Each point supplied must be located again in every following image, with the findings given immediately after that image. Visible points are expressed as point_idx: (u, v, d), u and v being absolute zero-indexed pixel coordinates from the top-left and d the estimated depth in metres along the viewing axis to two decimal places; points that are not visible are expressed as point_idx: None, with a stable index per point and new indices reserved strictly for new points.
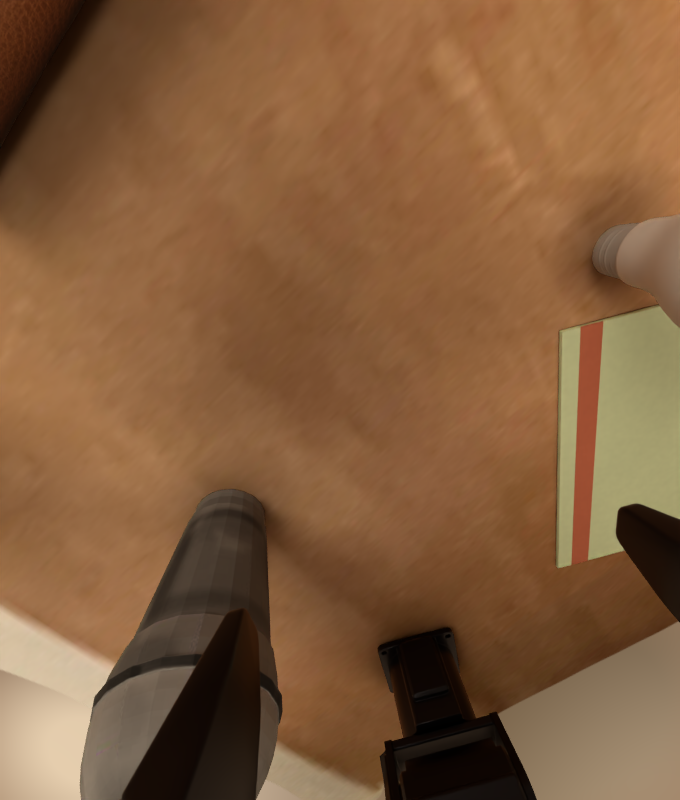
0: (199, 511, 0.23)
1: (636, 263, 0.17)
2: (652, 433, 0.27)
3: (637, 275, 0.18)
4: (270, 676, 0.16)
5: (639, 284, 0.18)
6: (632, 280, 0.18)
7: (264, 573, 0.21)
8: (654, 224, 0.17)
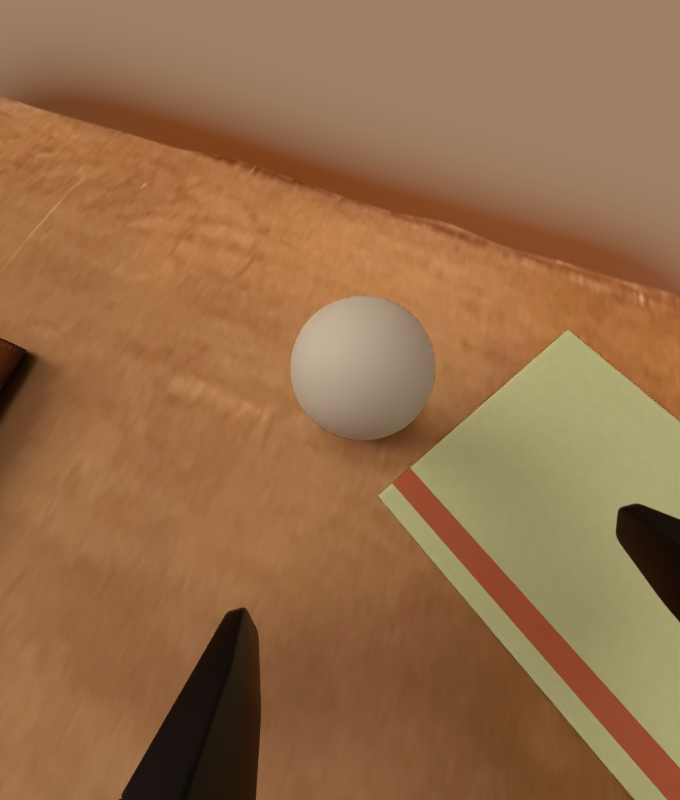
0: None
1: None
2: (584, 548, 0.21)
3: None
4: None
5: None
6: None
7: None
8: None
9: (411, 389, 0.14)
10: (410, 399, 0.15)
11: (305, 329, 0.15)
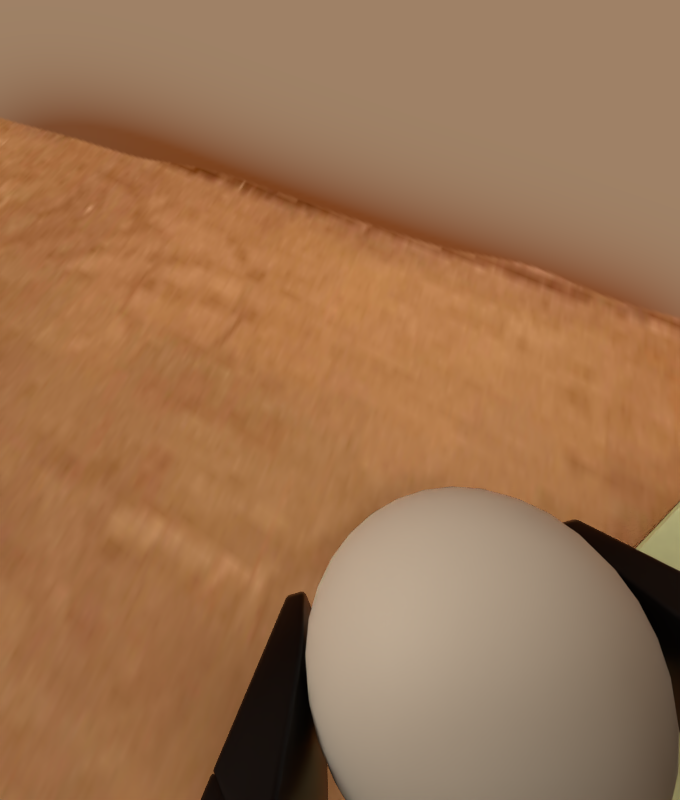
0: None
1: None
2: None
3: None
4: None
5: None
6: None
7: None
8: None
9: None
10: None
11: (345, 610, 0.06)
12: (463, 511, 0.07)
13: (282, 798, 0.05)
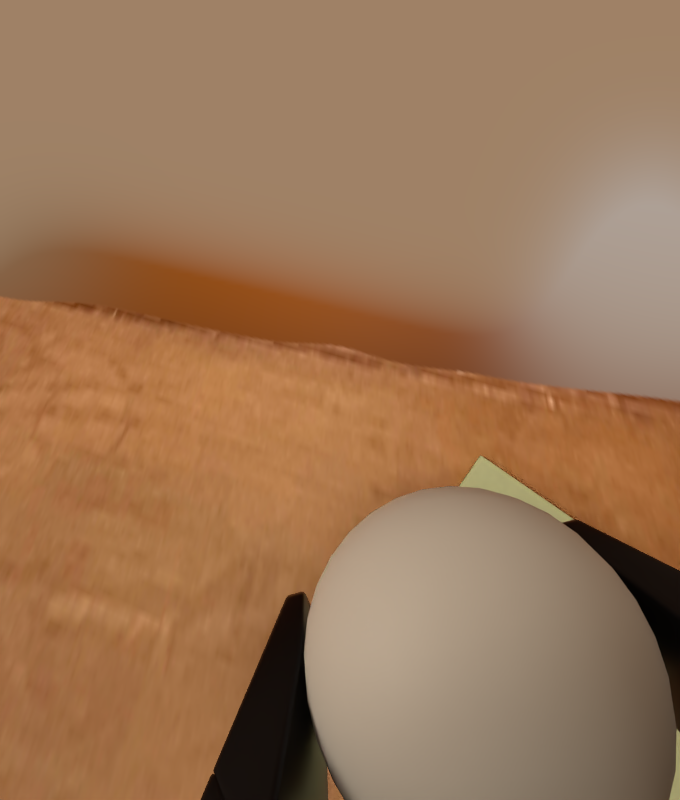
0: None
1: None
2: None
3: None
4: None
5: None
6: None
7: None
8: None
9: None
10: None
11: (344, 609, 0.06)
12: (461, 510, 0.07)
13: (282, 798, 0.05)
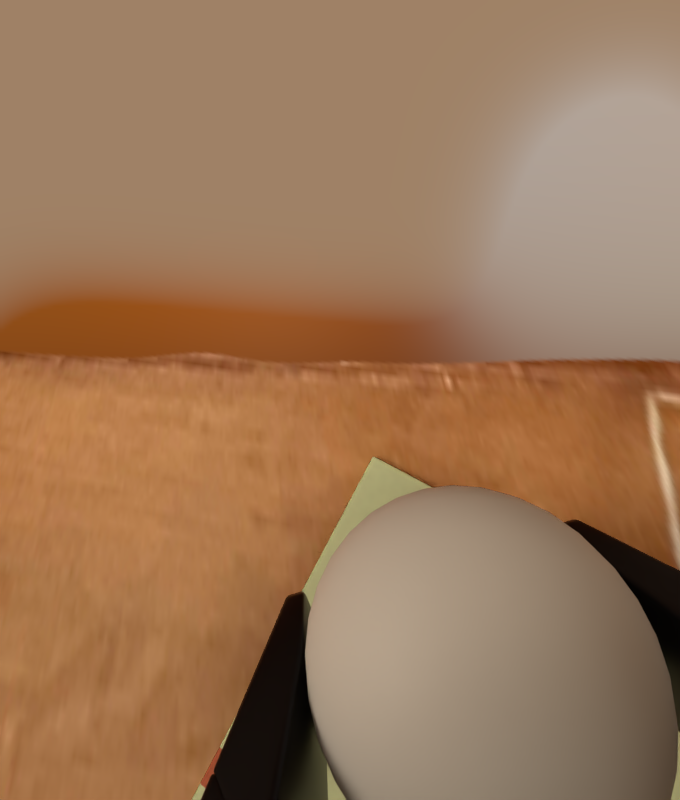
0: None
1: None
2: None
3: None
4: None
5: None
6: None
7: None
8: None
9: None
10: None
11: (345, 609, 0.06)
12: (462, 509, 0.07)
13: (282, 798, 0.05)
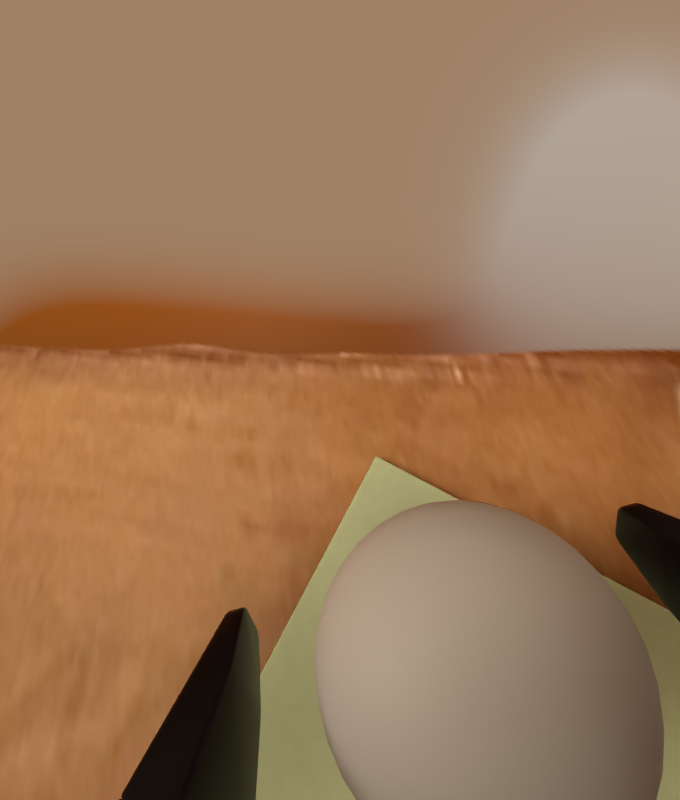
0: None
1: None
2: None
3: None
4: None
5: None
6: None
7: None
8: None
9: None
10: None
11: (355, 618, 0.07)
12: (466, 526, 0.07)
13: None
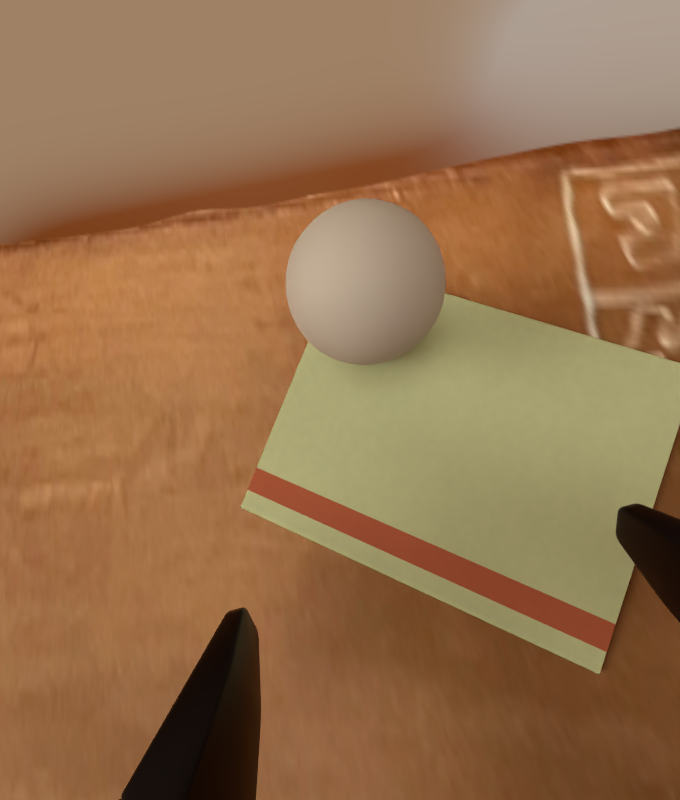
0: None
1: None
2: (429, 460, 0.22)
3: None
4: None
5: None
6: None
7: None
8: None
9: (419, 298, 0.13)
10: (420, 310, 0.13)
11: (295, 249, 0.14)
12: None
13: None
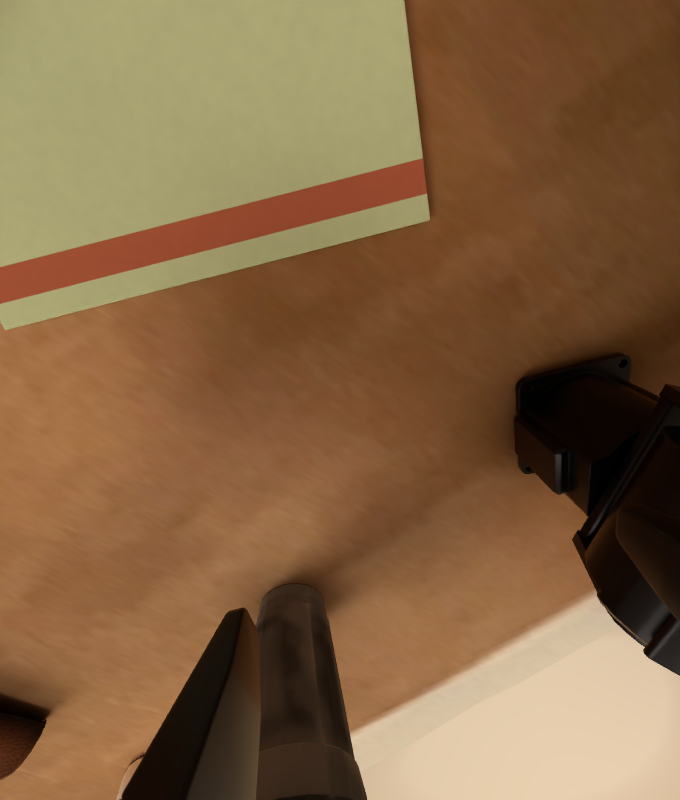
0: None
1: None
2: (134, 107, 0.15)
3: None
4: (261, 794, 0.16)
5: None
6: None
7: (275, 667, 0.21)
8: None
9: None
10: None
11: None
12: None
13: None
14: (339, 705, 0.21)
